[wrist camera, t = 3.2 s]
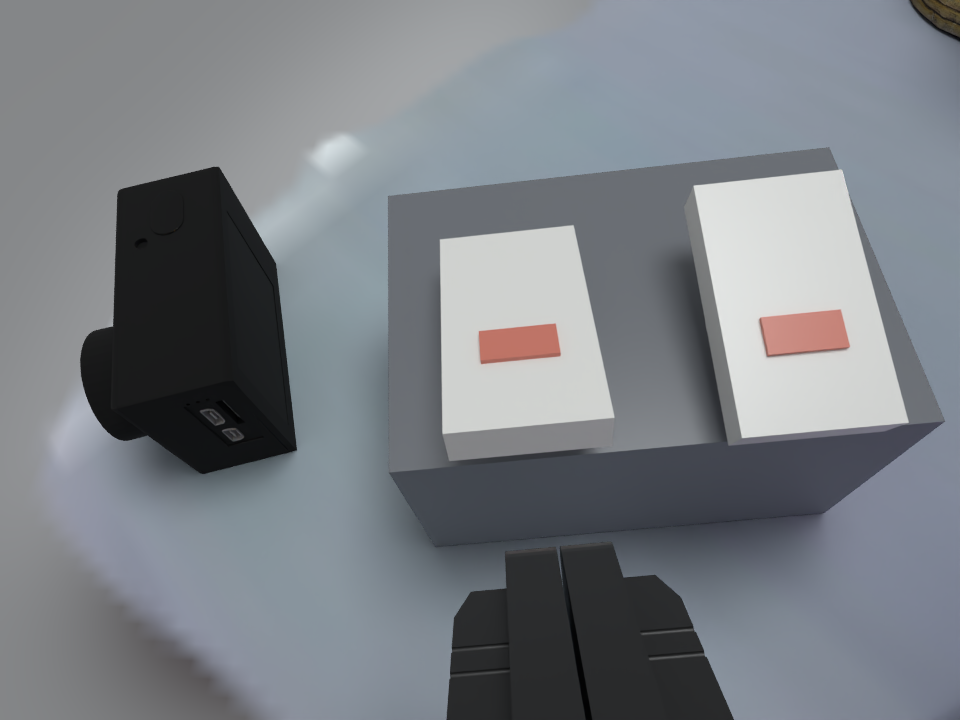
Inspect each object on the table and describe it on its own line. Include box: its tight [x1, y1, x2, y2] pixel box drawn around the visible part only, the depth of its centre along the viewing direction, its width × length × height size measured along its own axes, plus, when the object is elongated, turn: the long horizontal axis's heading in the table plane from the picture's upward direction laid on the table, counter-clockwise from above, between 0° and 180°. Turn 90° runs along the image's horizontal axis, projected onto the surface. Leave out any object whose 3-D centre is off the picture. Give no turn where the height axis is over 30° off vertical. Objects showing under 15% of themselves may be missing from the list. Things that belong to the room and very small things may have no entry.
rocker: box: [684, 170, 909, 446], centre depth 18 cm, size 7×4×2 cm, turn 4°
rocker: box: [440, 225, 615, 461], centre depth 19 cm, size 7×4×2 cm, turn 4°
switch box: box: [388, 147, 945, 547], centre depth 25 cm, size 10×15×9 cm, turn 94°
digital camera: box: [80, 167, 297, 474], centre depth 29 cm, size 10×5×7 cm, turn 13°
